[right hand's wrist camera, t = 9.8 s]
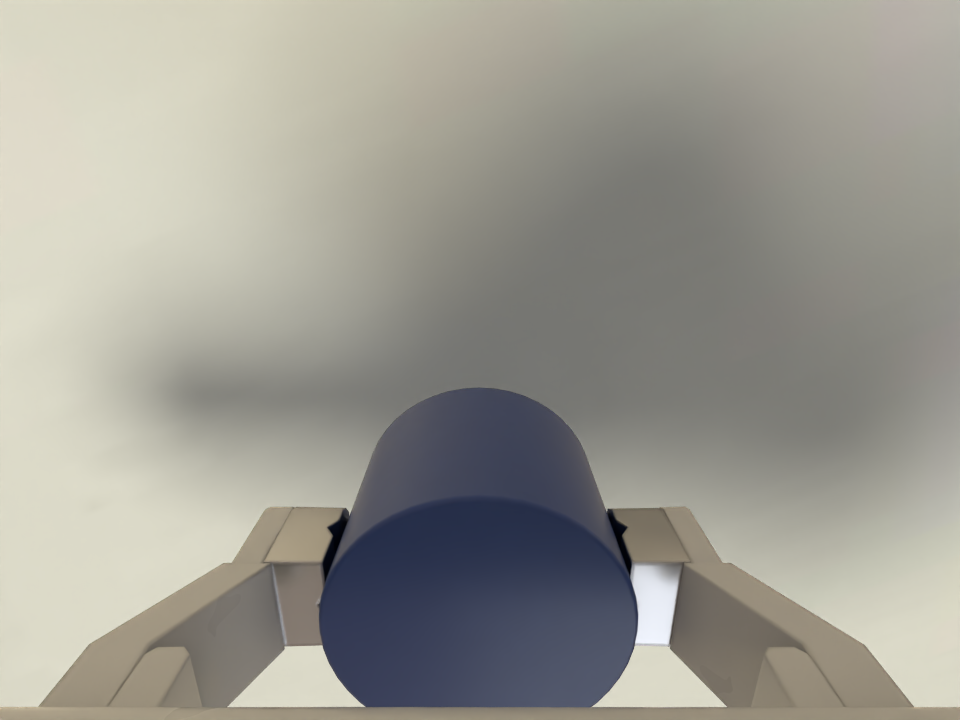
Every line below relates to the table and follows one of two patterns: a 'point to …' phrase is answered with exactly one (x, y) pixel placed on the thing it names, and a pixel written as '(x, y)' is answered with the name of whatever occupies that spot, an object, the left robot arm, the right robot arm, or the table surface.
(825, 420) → the table surface
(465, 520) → the canister
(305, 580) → the right robot arm
